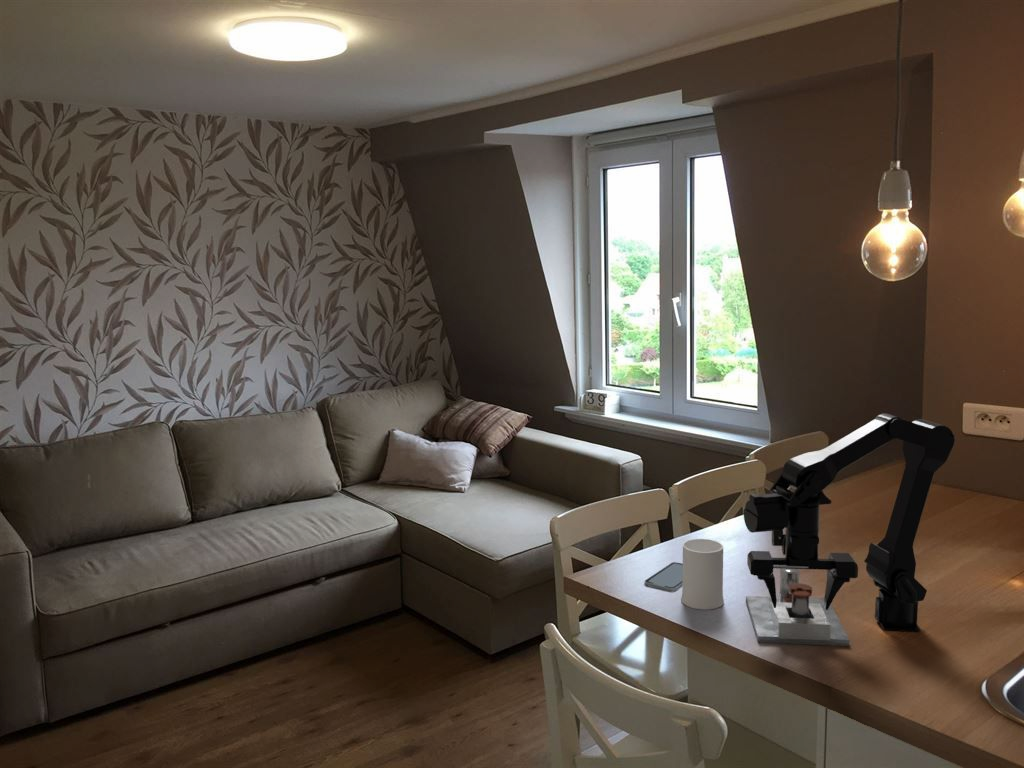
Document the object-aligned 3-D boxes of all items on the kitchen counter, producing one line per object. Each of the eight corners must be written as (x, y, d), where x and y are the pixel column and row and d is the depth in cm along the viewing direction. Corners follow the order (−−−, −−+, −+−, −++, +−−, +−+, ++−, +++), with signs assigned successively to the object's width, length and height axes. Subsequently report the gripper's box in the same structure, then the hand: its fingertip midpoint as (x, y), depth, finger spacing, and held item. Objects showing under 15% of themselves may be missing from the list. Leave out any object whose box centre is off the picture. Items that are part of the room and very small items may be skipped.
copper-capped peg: (808, 623, 159) (809, 583, 158) (813, 633, 155) (814, 592, 154) (786, 623, 160) (787, 583, 158) (790, 632, 156) (791, 591, 155)
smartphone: (703, 568, 190) (673, 589, 178) (703, 572, 190) (673, 593, 178) (673, 561, 194) (642, 581, 183) (673, 565, 195) (642, 585, 183)
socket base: (827, 604, 170) (828, 565, 169) (850, 647, 152) (851, 604, 151) (745, 601, 173) (746, 563, 171) (758, 643, 155) (759, 601, 153)
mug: (696, 584, 182) (696, 531, 180) (734, 592, 177) (735, 537, 175) (674, 604, 172) (674, 548, 170) (715, 613, 168) (715, 555, 166)
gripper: (845, 514, 161) (842, 592, 163) (744, 512, 164) (743, 589, 166) (860, 534, 150) (857, 617, 153) (751, 532, 153) (750, 613, 155)
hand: (800, 607), depth 157 cm, fingers open, 9 cm apart
